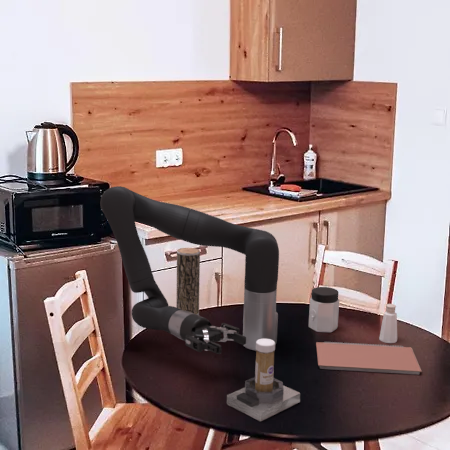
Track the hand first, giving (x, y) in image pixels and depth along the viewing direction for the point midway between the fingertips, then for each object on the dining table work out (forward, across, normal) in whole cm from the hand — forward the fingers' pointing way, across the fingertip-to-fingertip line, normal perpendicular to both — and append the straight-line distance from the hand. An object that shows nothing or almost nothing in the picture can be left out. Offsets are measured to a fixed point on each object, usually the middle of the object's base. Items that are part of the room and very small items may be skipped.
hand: (233, 345), depth 174 cm
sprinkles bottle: (+11, 0, +9) cm, 14 cm away
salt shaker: (+9, +57, +12) cm, 59 cm away
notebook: (+13, +40, +12) cm, 44 cm away
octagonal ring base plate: (+11, 0, +11) cm, 16 cm away
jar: (-10, +50, +12) cm, 52 cm away
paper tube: (-36, +17, +12) cm, 42 cm away
